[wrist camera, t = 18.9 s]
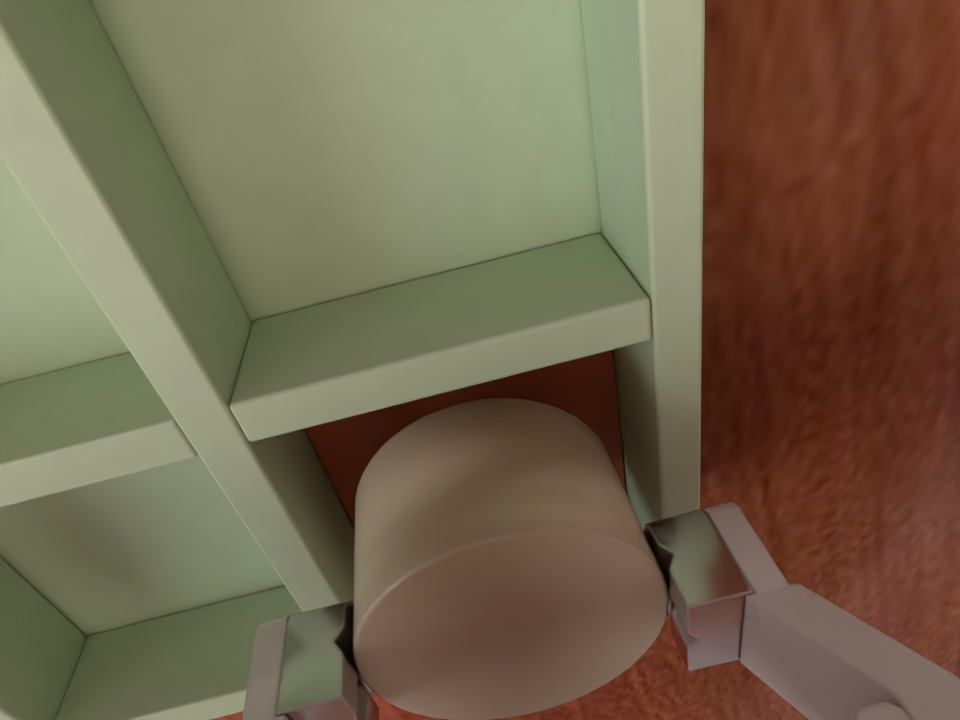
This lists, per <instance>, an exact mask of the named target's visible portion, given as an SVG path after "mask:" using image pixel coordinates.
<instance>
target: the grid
mask: <svg viewBox="0 0 960 720" xmlns="http://www.w3.org/2000/svg"><path fill="white" fill-rule="evenodd" d="M704 33H705V0H0V720H210V719H214V718H218V717H222V716H226V715H230V714H234V713H238V712H241V711H243V710H244V703H245V697H246V691H247V685H248V678H249V672H250V666H251V659H252V653H253V647H254V640H255V634H256V632H257V630H258V627H259V625H260V623H261V622H264V621H268V620H271V619H275V618H279V617H283V616H287V615H291V614H296V613H301V612H305V611H309V610H313V609H317V608H321V607H326V606H330V605H334V604H338V603H342V602H346V601H351V600H352V602H353V604H354V549H355V497H356V493H357V488H358V484H359V482H360V479H361V477H362V474H363V472H364V471H365V469H366V467H367V466H368V464H369V462H370V461H371V459H372V458H373V456H374V455H375V454H376V453H377V452H378V450H379V449H380V448H381V447H382V446H383V445H384V444H385V443H386V442H387V441H388V440H389V439H390V438H391V437H393V436H394V435H395V434H396V433H398V432H399V431H401V430H402V429H403V428H405V427H406V426H407V425H409V424H411V423H413V422H415V421H416V420H418V419H420V418H422V417H424V416H426V415H428V414H431V413H433V412H435V411H437V410H440V409H443V408H446V407H449V406H453V405H456V404H459V403H464V402H469V401H474V400H482V399H492V398H516V399H524V400H532V401H536V402H541V403H545V404H548V405H551V406H554V407H556V408H559V409H562V410H564V411H566V412H568V413H569V414H571V415H573V416H575V417H577V418H578V419H579V420H581V421H582V422H583V423H585V424H586V425H587V426H589V428H590V429H591V430H592V431H593V432H594V433H595V434H596V435H597V436H598V437H599V439H600V440H601V442H602V443H603V445H604V447H605V449H606V451H607V453H608V455H609V457H610V460H611V462H612V464H613V466H614V468H615V471H616V473H617V475H618V477H619V479H620V482H621V484H622V486H623V488H624V490H625V492H626V495H627V497H628V499H629V501H630V503H631V506H632V508H633V510H634V512H635V514H636V517H637V519H638V521H639V523H640V525H641V527H642V530H643V532H644V526H645V524H647V523H650V522H654V521H658V520H661V519H665V518H669V517H672V516H676V515H680V514H683V513H687V512H691V511H694V510H698V509H700V450H701V346H702V242H703V137H704Z"/></svg>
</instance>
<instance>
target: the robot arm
mask: <svg viewBox="0 0 960 720" xmlns="http://www.w3.org/2000/svg"><path fill="white" fill-rule="evenodd" d="M644 534H645V536H646V538H647V541H648V543H649V545H650V547H651V549H652V551H653V554H654V556H655V558H656V560H657V562H658V565H659V567H660V569H661V571H662V573H663V576H664V578H665V581H666V583H667V588H668V594H669V602H668V612H667V613H669V614H670V615H671V630H672V635H673V637H674V639H675V642H676V644H677V646H678V649H679V651H680V653H681V655H682V658H683V660H684V662H685V665H686V667H687V669H688V671H691V670H696V669H700V668H705V667H709V666H713V665H718V664H722V663H727V662H731V661H735V660H740V663H741V664H743V665H744V666H745V667H746V668H747V669H749V670H750V671H751V672H752V673H753V674H755V675H756V676H757V677H758V678H759V679H761V680H762V681H763V682H764V683H765V684H767V685H768V686H769V687H770V688H772V689H773V690H774V691H775V692H776V693H778V694H779V695H780V696H781V697H782V698H784V699H785V700H786V701H787V702H788V703H790V704H791V705H792V706H793V707H794V708H796V709H797V710H798V711H799V712H800V713H802V714H803V715H804V716H805V717H807V718H808V719H809V720H960V678H959V677H957V676H956V675H954V674H952V673H950V672H949V671H947V670H945V669H944V668H942V667H940V666H939V665H937V664H935V663H933V662H932V661H930V660H928V659H927V658H925V657H923V656H922V655H920V654H918V653H917V652H915V651H913V650H911V649H910V648H908V647H906V646H905V645H903V644H901V643H900V642H898V641H896V640H895V639H893V638H891V637H889V636H888V635H886V634H884V633H883V632H881V631H879V630H878V629H876V628H874V627H872V626H871V625H869V624H867V623H866V622H864V621H862V620H861V619H859V618H857V617H856V616H854V615H852V614H850V613H849V612H847V611H845V610H844V609H842V608H840V607H839V606H837V605H835V604H833V603H832V602H830V601H828V600H827V599H825V598H823V597H822V596H820V595H818V594H817V593H815V592H813V591H811V590H810V589H808V588H806V587H805V586H803V585H801V584H800V583H795V584H790V585H789V584H788V582H787V581H786V579H785V578H784V576H783V574H782V573H781V571H780V570H779V568H778V567H777V565H776V564H775V562H774V560H773V559H772V557H771V556H770V554H769V553H768V551H767V550H766V548H765V547H764V545H763V543H762V542H761V540H760V539H759V537H758V536H757V534H756V533H755V531H754V529H753V528H752V526H751V525H750V523H749V522H748V520H747V519H746V517H745V516H744V514H743V512H742V511H741V509H740V508H739V506H737V505H736V504H735V503H733V502H727V503H724V504H720V505H716V506H713V507H709V508H706V509H698V510H694V511H691V512H687V513H683V514H680V515H676V516H672V517H669V518H665V519H661V520H658V521H654V522H650V523H647V524H645V526H644ZM353 613H354V604H353V602H352V600H351V601H346V602H342V603H338V604H334V605H330V606H326V607H321V608H317V609H313V610H309V611H305V612H301V613H296V614H291V615H287V616H283V617H279V618H275V619H271V620H268V621H264V622H261V623H260V625H259V627H258V630H257V632H256V634H255V640H254V647H253V653H252V659H251V666H250V672H249V678H248V685H247V691H246V697H245V703H244V710H243V716H242V720H379V708H378V706H377V705H376V703H375V702H374V700H373V698H372V697H371V693H372V690H371V689H370V688H369V687H368V685H367V684H366V683H365V682H364V680H363V679H362V677H361V675H360V673H359V671H358V669H357V667H356V665H355V660H354V656H353Z"/></svg>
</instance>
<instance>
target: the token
mask: <svg viewBox="0 0 960 720" xmlns="http://www.w3.org/2000/svg"><path fill="white" fill-rule="evenodd" d="M668 602H669V594H668V588H667V583H666V581H665V578H664V576H663V573H662V571H661V569H660V567H659V565H658V562H657V560H656V558H655V556H654V554H653V551H652V549H651V547H650V545H649V543H648V541H647V538H646V536H645V534H644V532H643V530H642V527H641V525H640V523H639V521H638V519H637V517H636V514H635V512H634V510H633V508H632V506H631V503H630V501H629V499H628V497H627V495H626V492H625V490H624V488H623V486H622V484H621V482H620V479H619V477H618V475H617V473H616V471H615V468H614V466H613V464H612V462H611V460H610V457H609V455H608V453H607V451H606V449H605V447H604V445H603V443H602V442H601V440H600V439H599V437H598V436H597V435H596V434H595V433H594V432H593V431H592V430H591V429H590V428H589V426H587V425H586V424H585V423H583V422H582V421H581V420H579V419H578V418H577V417H575V416H573V415H571V414H569V413H568V412H566V411H564V410H562V409H559V408H556V407H554V406H551V405H548V404H545V403H541V402H536V401H532V400H524V399H516V398H492V399H482V400H474V401H469V402H464V403H459V404H456V405H453V406H449V407H446V408H443V409H440V410H437V411H435V412H433V413H431V414H428V415H426V416H424V417H422V418H420V419H418V420H416V421H415V422H413V423H411V424H409V425H407V426H406V427H405V428H403V429H402V430H401V431H399V432H398V433H396V434H395V435H394V436H393V437H391V438H390V439H389V440H388V441H387V442H386V443H385V444H384V445H383V446H382V447H381V448H380V449H379V450H378V452H377V453H376V454H375V455H374V456H373V458H372V459H371V461H370V462H369V464H368V466H367V467H366V469H365V471H364V472H363V474H362V477H361V479H360V482H359V484H358V488H357V493H356V497H355V549H354V613H353V656H354V660H355V665H356V667H357V669H358V671H359V673H360V675H361V677H362V679H363V680H364V682H365V683H366V684H367V685H368V687H369V688H370V689H371V690H372V691H373V692H375V693H376V694H377V695H378V696H379V697H381V698H382V699H384V700H385V701H387V702H389V703H390V704H392V705H394V706H397V707H399V708H401V709H403V710H406V711H409V712H413V713H416V714H419V715H424V716H428V717H433V718H440V719H449V720H491V719H501V718H508V717H514V716H521V715H525V714H529V713H534V712H538V711H542V710H545V709H549V708H552V707H555V706H558V705H561V704H564V703H566V702H569V701H572V700H574V699H577V698H579V697H581V696H583V695H586V694H588V693H590V692H592V691H594V690H596V689H597V688H599V687H601V686H603V685H605V684H606V683H608V682H610V681H611V680H613V679H614V678H616V677H618V676H619V675H620V674H622V673H623V672H624V671H626V670H627V669H628V668H630V667H631V666H632V665H633V664H634V663H635V662H636V661H637V660H638V659H640V658H641V657H642V656H643V655H644V653H645V652H646V651H647V650H648V649H649V648H650V647H651V645H652V644H653V642H654V641H655V640H656V638H657V637H658V635H659V633H660V631H661V629H662V627H663V625H664V623H665V620H666V616H667V612H668Z"/></svg>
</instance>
